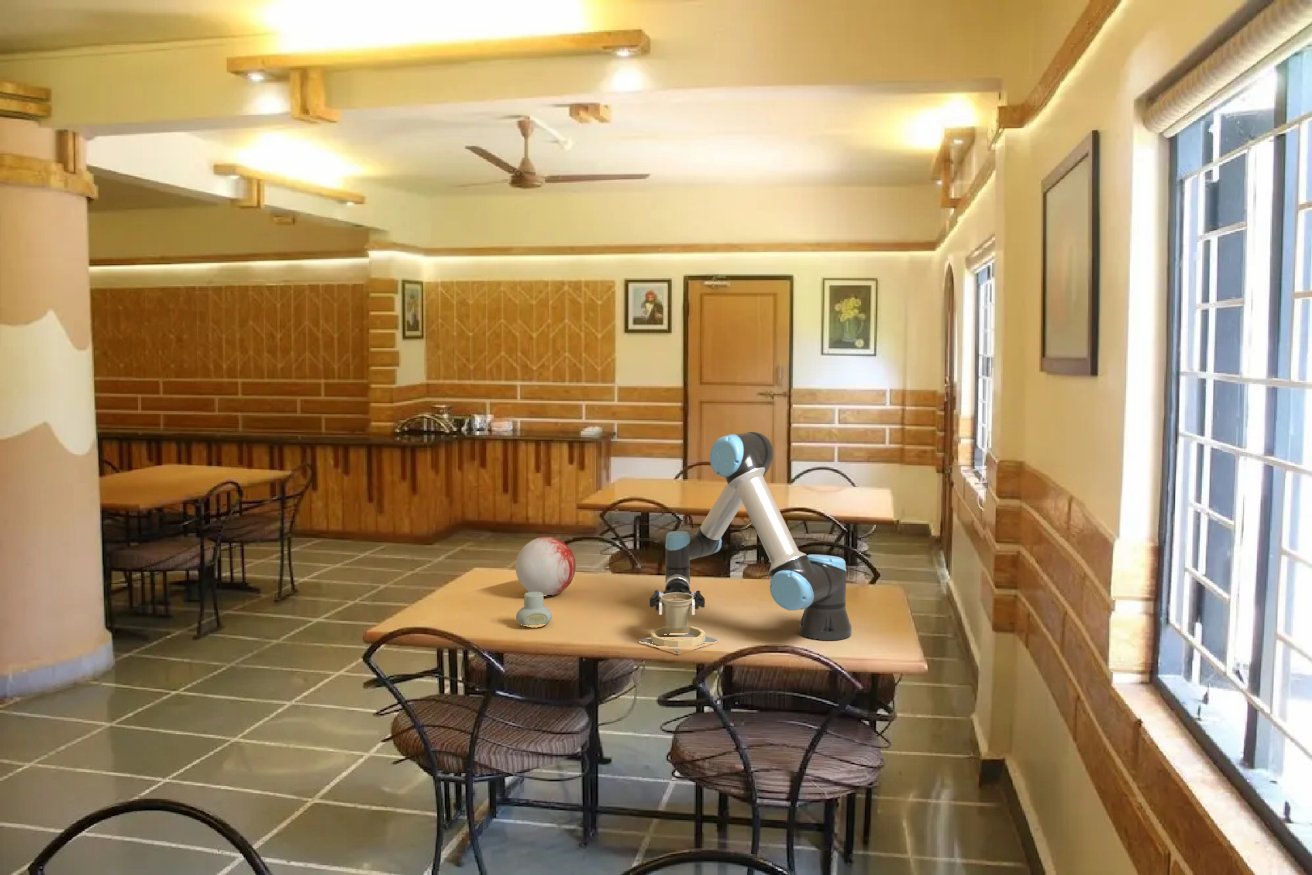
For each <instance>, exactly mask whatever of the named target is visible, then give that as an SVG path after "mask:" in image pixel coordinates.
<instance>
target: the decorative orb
mask: <svg viewBox="0 0 1312 875" xmlns="http://www.w3.org/2000/svg"><path fill="white" fill-rule="evenodd" d="M576 565H577V564H576V559H575V555H574V553H573V551H572V549H571V548H570V547H569V546H568V545H567V544H566V543H565V542H564V541H562V540H560V539H559V538H555V537H552V536H542V537H537V538H535V539H532V540H530V541H529V542H527V543H526V544H525V545H524V546H523V547H522V548H521V549H520V550H519V553H517V556H516V560H515V574H516V578H517V580H518V582H519V583H520V585H521V586H522V588H523V589H524V590H526V591H527V593H528V592H542V593H543V595H552V596H555V595H554V594H556V595H558V594H560V593H562V592H563V591H565V589H567V588H568V587H569V585H570V584H571V582H572V581H573V579H574V577H575V574H576V567H577V566H576Z"/></svg>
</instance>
